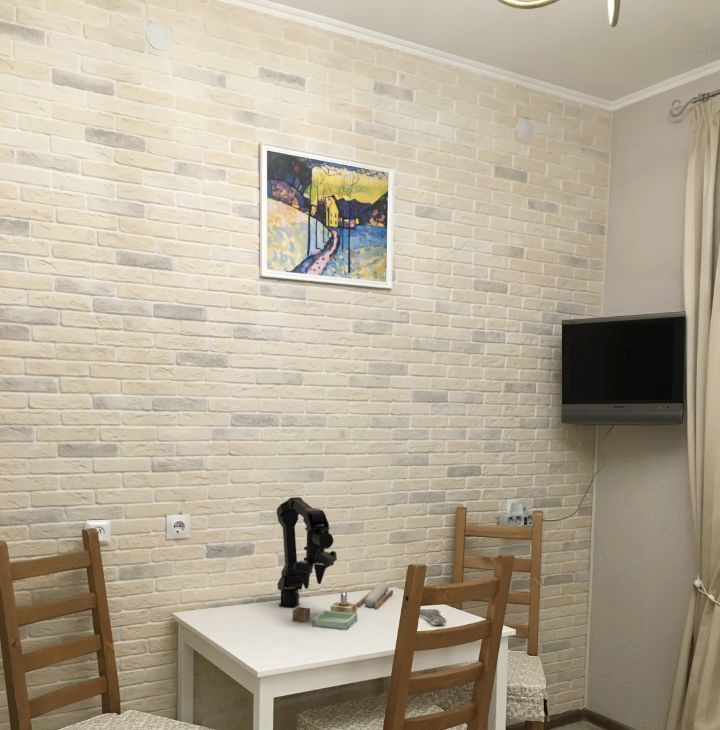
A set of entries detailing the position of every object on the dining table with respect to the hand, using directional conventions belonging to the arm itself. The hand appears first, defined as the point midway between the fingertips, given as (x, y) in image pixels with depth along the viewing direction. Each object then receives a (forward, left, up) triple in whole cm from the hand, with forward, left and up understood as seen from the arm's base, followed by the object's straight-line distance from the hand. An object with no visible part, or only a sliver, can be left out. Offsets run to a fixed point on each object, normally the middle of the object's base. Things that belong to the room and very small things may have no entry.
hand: (312, 586), depth 292 cm
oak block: (+9, +11, -12) cm, 18 cm away
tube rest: (+15, +35, -12) cm, 40 cm away
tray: (+10, -3, -12) cm, 16 cm away
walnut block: (-3, -3, -12) cm, 13 cm away
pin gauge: (+9, +11, -12) cm, 18 cm away
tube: (+15, +35, -12) cm, 40 cm away
